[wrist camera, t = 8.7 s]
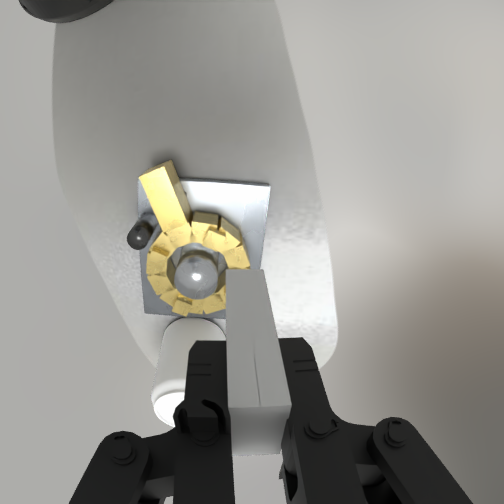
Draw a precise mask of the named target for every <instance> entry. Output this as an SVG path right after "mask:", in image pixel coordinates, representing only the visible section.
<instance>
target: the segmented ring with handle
mask: <svg viewBox="0 0 504 504" xmlns="http://www.w3.org/2000/svg"><path fill="white" fill-rule="evenodd" d="M139 178H140V181H141V183H142V185H143V188H144V190H145V192H146V195H147V197H148V199H149V202H150V204H151V206H152V208H153V211H154V213H155V215H156V217H157V220H158V222H159V224H160V226H161V230H160V231H159V233H158V234H157V235H156V237H155V238H154V240H153V242H152V244H151V246H150V248H149V251H148V253H147V264H146V265H147V268H146V274H148V276H147V278H148V280H149V282H150V284H151V285H152V287H153V289H154V291H155V293H156V295H160V297H159V298H160V299H162V300H163V301H165V302H166V303H168V304H169V305H171V306H172V307H173V308H172V312H175V313H177V314H180V315H183V316H185V317H186V316H187V314H188V312H189V313H196V314H203V310H204V312H205V314H209V313H212V312H215V311H219V310H222V309H226V270H225V271H224V272H223V273H222V274H221V275H220V276H219V277H218V283H217V288H216V290H215V291H214V293H213V294H212V295H210V296H209V297H207V298H204V299H199V300H195V299H190V298H187V297H185V296H183V295H182V294H181V293H180V292H179V291H178V290H177V288H176V286H175V283H174V276H175V272H176V270H175V268H174V266H173V264H172V262H171V255H172V253H173V252H174V251H175V250H176V248H178V247H181V246H184V245H186V244H189V243H192V242H194V243H201V244H202V246H204V247H207V248H209V249H212V250H214V251H216V252H220V253H221V254H223V255H224V257H225V260H226V262H227V268H226V269H250V260H249V253H248V250H247V247H246V244H245V242H244V239H243V236H242V234H241V233H239V230H238V229H237V228H236V227H235V226H233V225H232V224H231V223H230V222H228V221H227V220H226V219H225V218H223V217H222V216H221V217H220V219H219V220H218V215H217V214H211V213H205V212H199V211H195V213H194V216H193V214H192V210H191V207H190V205H189V202H188V200H187V198H186V195H185V193H184V190H183V188H182V185H181V183H180V180H179V178H178V175H177V173H176V170H175V168H174V165H173V163H172V160H169V161H167V162H164V163H162V164H159V165H157V166H154V167H152V168H150V169H148V170H147V171H146V172H144V173H143V174H142V175H141V176H140V177H139Z"/></svg>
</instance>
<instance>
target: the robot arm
mask: <svg viewBox="0 0 504 504" xmlns="http://www.w3.org/2000/svg"><path fill="white" fill-rule="evenodd" d="M111 1H113V0H19V2H20V4H21V6H22V7H23V8H24V10H25V11H26V12H27V13H29V14H30V15H32V16H34V17H36V18H39V19H41V20H44V21H48V22H53V23H63V22H69V21H74V20H77V19H80V18H83V17H85V16H88V15H90V14H92V13H94V12H96V11H98V10H99V9H101V8H103V7H104V6H106V5H107V4H109V3H110V2H111ZM186 374H187V376H186V383H185V394H184V400H183V401H182V402H181V403H180V404H179V405H178V406H177V407H176V408H175V411H174V413H173V420H174V424H175V427H174V428H173V429H172V430H170V431H168V432H167V433H163V434H161V435H156V436H151V437H146V438H141V437H140V436H138V435H136V434H134V433H132V432H126V431H120V432H114V433H112V434H110V435H108V436H106V437H105V438H104V440H103V441H102V442H101V443H100V445H99V446H98V448H97V450H96V452H95V454H94V456H93V458H92V459H91V461H90V463H89V465H88V467H87V469H86V471H85V473H84V475H83V477H82V479H81V480H80V482H79V484H78V486H77V488H76V490H75V492H74V494H73V496H72V498H71V500H70V502H69V504H164V501H165V498H166V497H170V496H173V504H235V495H234V478H233V460H232V456H249V455H268V454H280V451H281V449H282V455H283V464H282V466H281V470H280V474H279V479H283V482H284V489H285V495H286V502H287V504H473V503H472V502H471V500H470V499H469V498H468V496H467V495H466V494H465V492H464V491H463V490H462V488H461V487H460V486H459V484H458V483H457V482H456V480H455V479H454V478H453V477H452V475H451V474H450V473H449V471H448V470H447V469H446V467H445V466H444V465H443V464H442V462H441V461H440V459H439V458H438V457H437V456H436V454H435V453H434V452H433V450H432V449H431V448H430V446H429V445H428V444H427V443H426V441H425V440H424V439H423V438H422V436H421V435H420V434H419V433H418V431H417V430H416V429H415V427H414V426H413V425H412V424H410V422H408V421H407V420H404V419H402V418H397V417H390V418H386V419H383V420H382V421H380V422H379V423H378V424H377V425H376V426H366V425H357V424H352V423H348V422H345V421H344V420H341V419H340V418H339V417H338V416H337V415H335V413H334V412H333V411H332V409H331V407H330V405H329V401H328V398H327V395H326V392H325V388H324V385H323V382H322V379H321V375H320V372H319V371H318V366H317V363H316V361H315V356H314V353H313V350H312V347H311V346H310V345H309V344H308V343H307V342H306V341H305V340H304V339H303V337H299V338H278V336H277V332H276V327H275V322H274V317H273V313H272V308H271V303H270V298H269V294H268V289H267V284H266V279H265V275H264V270H263V269H226V340H196V341H195V343H194V344H193V346H192V347H191V349H190V350H189V354H188V366H187V373H186Z"/></svg>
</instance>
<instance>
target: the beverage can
mask: <svg viewBox="0 0 504 504" xmlns="http://www.w3.org/2000/svg"><path fill="white" fill-rule="evenodd" d="M196 340H226V338H225V335H224V333H223V332H222V330H221V329H220V328H219V327H218V326H217V325H215V324H214V323H212V322H210V321H208V320H205V319H202V318H196V317H188V318H182V319H179V320H176V321H174V322H173V323H171V324H170V325H169V326H168V327H167V329H166V330H165V332H164V336H163V340H162V345H161V349H160V354H159V359H158V363H157V368H156V373H155V378H154V383H153V388H152V394H151V400H152V403H153V406H154V411H155V413H156V415H157V417H158V418H159V419H161V420H162V421H163V422H164V423H166V424H168V425H170V426H172V427H175V424H174V420H173V413H174V411H175V408H176V407H177V406H178V405H179V404H180V403H181V402H182V401H183V400H184V394H185V383H186V376H187V374H186V373H187V366H188V354H189V350H190V349H191V347H192V346H193V344H194V343H195V341H196Z"/></svg>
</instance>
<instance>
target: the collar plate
mask: <svg viewBox="0 0 504 504" xmlns="http://www.w3.org/2000/svg"><path fill="white" fill-rule="evenodd" d="M179 180H180V183H181V185H182V188H183V190H184V193H185V195H186V198H187V200H188V202H189V205H190V207H191V210H192V214H193V216H194V213H195V211H199V212H205V213H211V214H217V215H218V220H219V219H220V217H221V216H222V217H223V218H225V219H226V220H227V221H228V222H230V223H231V224H232V225H233V226H235V227H236V228H237V229H238V230H239V233H241V234H242V236H243V239H244V242H245V244H246V247H247V250H248V253H249V260H250V269H260V265H261V258H262V250H263V242H264V234H265V227H266V219H267V211H268V203H269V195H270V185H269V184H261V183H250V182H237V181H223V180H208V179H190V178H179ZM160 230H161V226H160V224H159V222H158V220H157V217H156V215H155V213H154V211H153V208H152V206H151V204H150V202H149V199H148V197H147V195H146V192H145V190H144V188H143V185H142V183H141V181H140V178H139V179H138V221H137V222H136V224H135V225H134V226H133V228H132V229H131V231H130V232H129V233H128V235H127V242H128V244H129V245H130V246H131V247H132V248H133V249H136V250H140V264H141V278H142V290H143V301H144V311H145V313H147V314H158V315H171V316H183V315H180V314H177V313H175V312H172V308H173V307H172V306H171V305H169V304H168V303H166V302H165V301H163V300H162V299H160V298H159V297H160V295H156V293H155V291H154V289H153V287H152V285H151V284H150V282H149V280H148V278H147V276H148V274H146V268H147V265H146V264H147V253H148V251H149V248H150V246H151V244H152V242H153V240H154V238H155V237H156V235H157V234H158V233H159V231H160ZM171 262H172V264H173V266H174V268H175V270H176V272H175V276H174V283H175V286H176V288H177V290H178V291H179V292H180V293H181V294H182V295H183V296H185V297H187V298H190V299H195V300H199V299H204V298H207V297H209V296H210V295H212V294H213V293H214V291H215V290H216V288H217V283H218V277H219V276H220V275H221V274H222V273H223V272H224V271H225V270H226V268H227V262H226V260H225V257H224V255H223V254H221V253H220V252H216V251H214V250H212V249H209V248H207V247H204V246H202V244H201V243H194V242H192V243H189V244H186V245H184V246H181V247H178V248H176V250H175V251H174V252H173V253H172V255H171ZM184 317H185V316H184ZM186 317H199V318H216V319H226V309H222V310H219V311H215V312H212V313H209V314H205V312H204V310H203V314H196V313H189V312H188V314H187V316H186Z"/></svg>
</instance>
